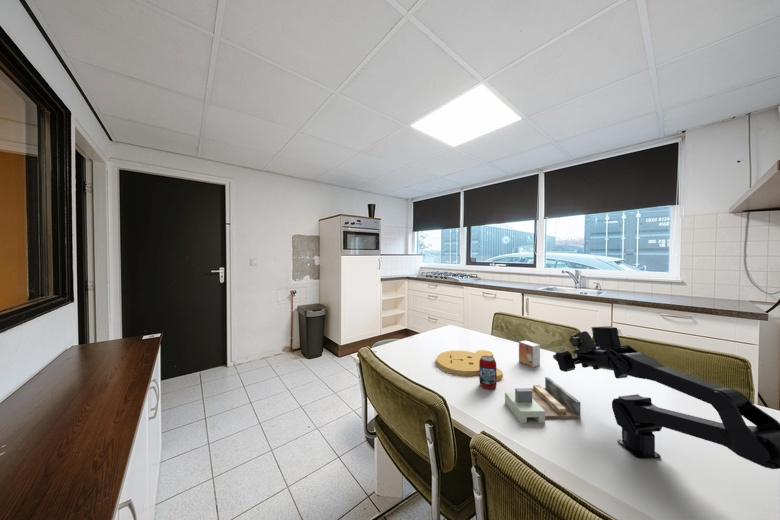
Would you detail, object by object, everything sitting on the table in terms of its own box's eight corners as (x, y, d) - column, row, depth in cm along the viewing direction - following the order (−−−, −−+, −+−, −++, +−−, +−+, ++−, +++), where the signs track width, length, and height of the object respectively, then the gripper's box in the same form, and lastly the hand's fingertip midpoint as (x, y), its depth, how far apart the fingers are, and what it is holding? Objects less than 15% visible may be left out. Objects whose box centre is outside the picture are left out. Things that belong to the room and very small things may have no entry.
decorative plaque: (435, 377, 118) (505, 382, 112) (435, 371, 118) (504, 376, 112) (437, 352, 149) (491, 355, 143) (437, 347, 149) (491, 350, 143)
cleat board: (580, 418, 86) (580, 402, 86) (544, 418, 87) (544, 402, 86) (548, 390, 104) (548, 377, 104) (518, 390, 105) (518, 377, 104)
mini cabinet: (545, 423, 85) (545, 399, 84) (520, 423, 85) (520, 399, 85) (526, 402, 97) (526, 381, 96) (505, 402, 97) (504, 381, 97)
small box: (518, 361, 133) (518, 341, 133) (526, 359, 135) (525, 339, 135) (532, 367, 125) (532, 346, 125) (540, 365, 128) (540, 344, 128)
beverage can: (478, 388, 107) (478, 359, 107) (480, 380, 113) (480, 354, 113) (495, 391, 104) (495, 362, 104) (497, 384, 110) (497, 356, 110)
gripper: (616, 328, 86) (577, 327, 101) (568, 339, 83) (535, 337, 98) (629, 363, 83) (587, 357, 98) (580, 375, 80) (545, 367, 95)
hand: (563, 354), depth 97 cm, fingers open, 9 cm apart
